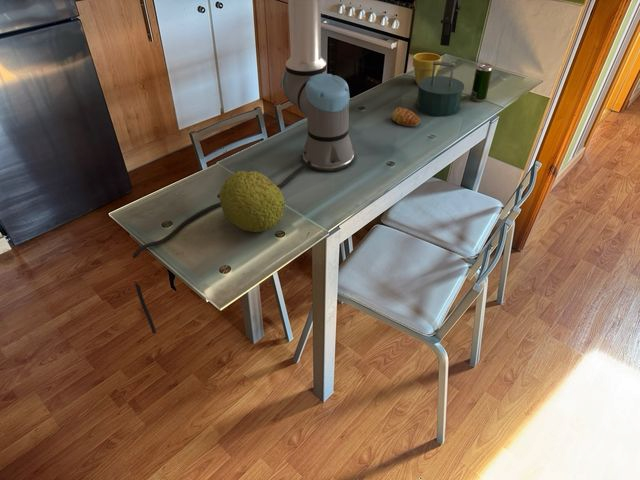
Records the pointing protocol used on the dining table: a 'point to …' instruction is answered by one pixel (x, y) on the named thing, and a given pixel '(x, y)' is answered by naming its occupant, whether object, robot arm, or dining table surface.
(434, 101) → the pot
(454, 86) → the lid
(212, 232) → the dining table surface
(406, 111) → the pastry
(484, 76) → the beer can
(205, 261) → the dining table surface
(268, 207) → the fruit
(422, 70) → the flower pot
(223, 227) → the dining table surface
